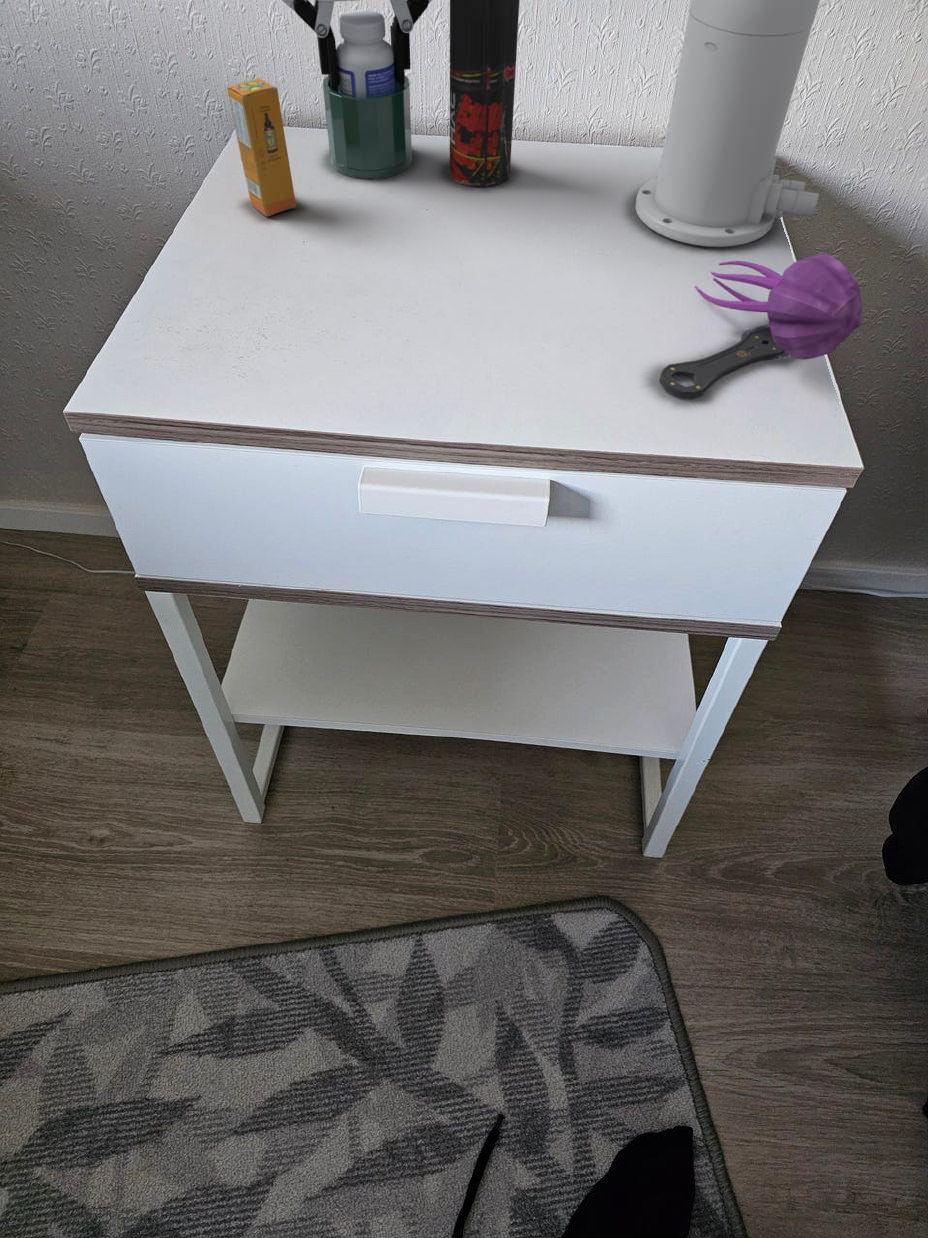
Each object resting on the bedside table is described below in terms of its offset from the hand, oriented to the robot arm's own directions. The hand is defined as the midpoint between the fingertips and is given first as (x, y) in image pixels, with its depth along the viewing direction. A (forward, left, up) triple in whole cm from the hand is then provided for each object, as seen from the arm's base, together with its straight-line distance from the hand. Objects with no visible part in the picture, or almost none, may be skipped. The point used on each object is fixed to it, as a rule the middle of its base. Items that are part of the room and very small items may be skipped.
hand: (366, 77), depth 78 cm
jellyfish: (-35, +13, -6) cm, 38 cm away
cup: (0, 0, -7) cm, 7 cm away
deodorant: (-11, -1, -7) cm, 13 cm away
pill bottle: (0, 0, -5) cm, 5 cm away
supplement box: (+5, +12, -7) cm, 15 cm away
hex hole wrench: (-40, +20, -6) cm, 46 cm away
